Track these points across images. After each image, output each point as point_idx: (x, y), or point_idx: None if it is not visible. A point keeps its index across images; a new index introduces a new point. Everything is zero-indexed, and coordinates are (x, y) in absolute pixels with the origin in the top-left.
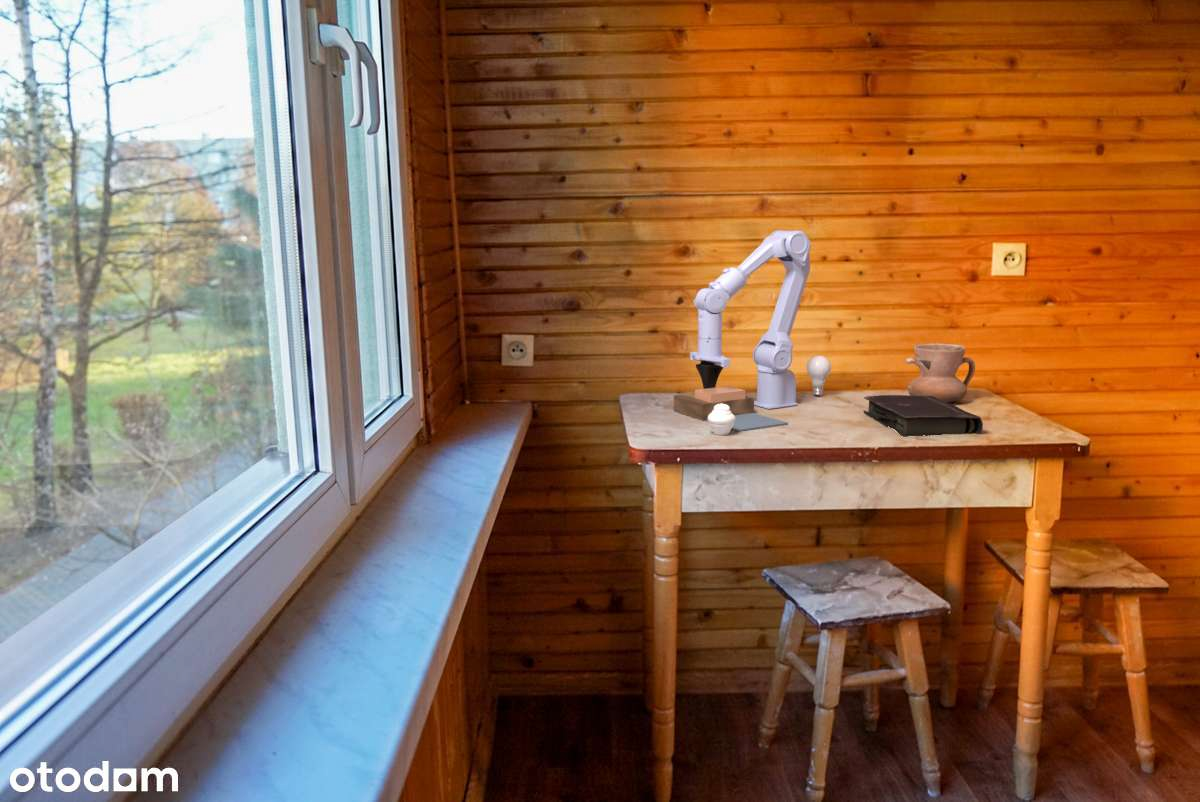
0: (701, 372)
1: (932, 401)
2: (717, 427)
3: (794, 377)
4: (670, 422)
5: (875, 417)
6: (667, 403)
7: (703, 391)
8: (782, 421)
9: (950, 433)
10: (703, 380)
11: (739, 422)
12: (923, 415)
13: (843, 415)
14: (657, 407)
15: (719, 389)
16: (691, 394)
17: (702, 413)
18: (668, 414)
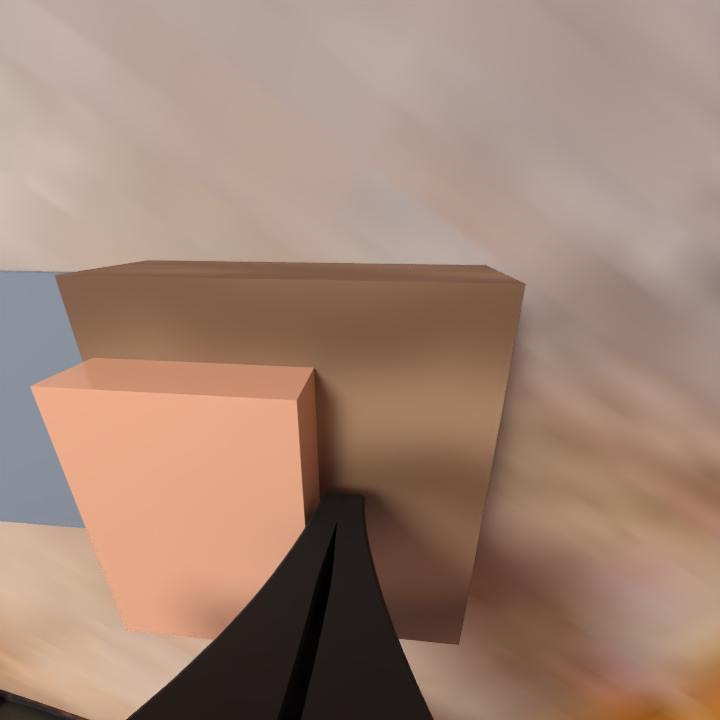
0: (333, 670)
1: None
2: None
3: None
4: (174, 9)
5: (35, 709)
6: (712, 373)
7: (189, 416)
8: (5, 518)
9: None
10: (337, 573)
11: (13, 375)
12: None
13: (90, 686)
14: (673, 238)
15: (221, 551)
16: (451, 427)
17: (123, 266)
18: (421, 169)
